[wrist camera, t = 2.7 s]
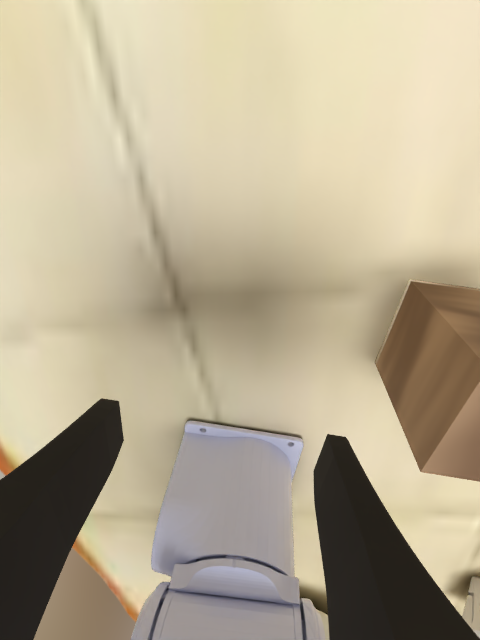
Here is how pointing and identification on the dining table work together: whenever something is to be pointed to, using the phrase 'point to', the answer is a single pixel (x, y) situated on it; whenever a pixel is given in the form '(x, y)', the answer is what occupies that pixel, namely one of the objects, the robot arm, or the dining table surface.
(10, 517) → the robot arm
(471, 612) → the die
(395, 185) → the dining table surface
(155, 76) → the dining table surface
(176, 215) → the dining table surface
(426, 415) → the block
